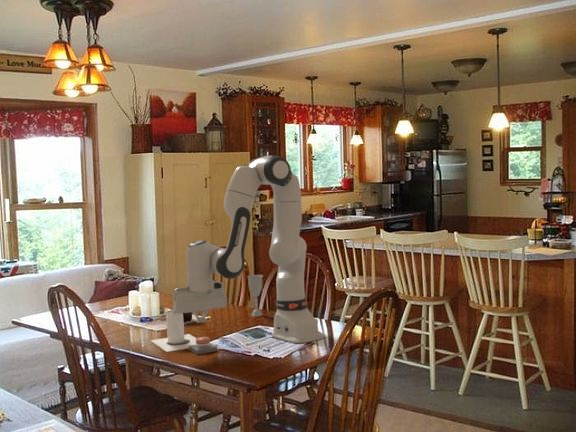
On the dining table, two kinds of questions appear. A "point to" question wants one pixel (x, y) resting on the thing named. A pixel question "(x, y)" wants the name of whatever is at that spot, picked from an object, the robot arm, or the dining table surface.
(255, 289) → the chalice
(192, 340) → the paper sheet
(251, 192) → the robot arm
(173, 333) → the can
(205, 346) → the button base
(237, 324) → the dining table surface
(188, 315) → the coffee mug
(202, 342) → the button
